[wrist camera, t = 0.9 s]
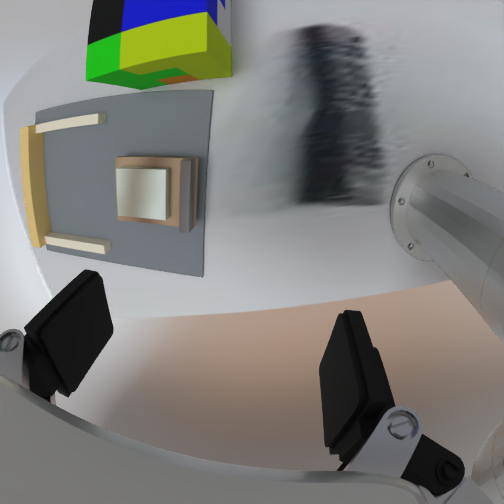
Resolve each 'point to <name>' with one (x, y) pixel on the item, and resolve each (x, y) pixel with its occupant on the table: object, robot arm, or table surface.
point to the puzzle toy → (158, 42)
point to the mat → (113, 176)
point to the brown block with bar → (157, 190)
